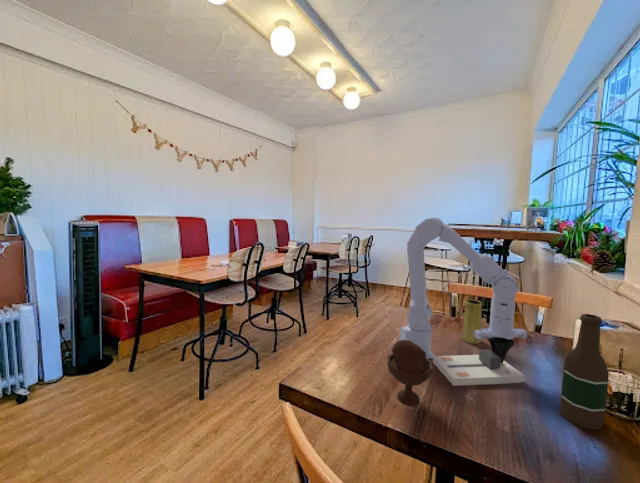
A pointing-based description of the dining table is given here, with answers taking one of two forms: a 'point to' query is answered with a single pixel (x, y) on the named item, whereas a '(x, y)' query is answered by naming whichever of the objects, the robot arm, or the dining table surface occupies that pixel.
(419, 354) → the ice cream bowl
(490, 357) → the fader knob
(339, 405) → the dining table surface
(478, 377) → the fader panel
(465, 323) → the vase
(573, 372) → the beer bottle
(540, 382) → the dining table surface
